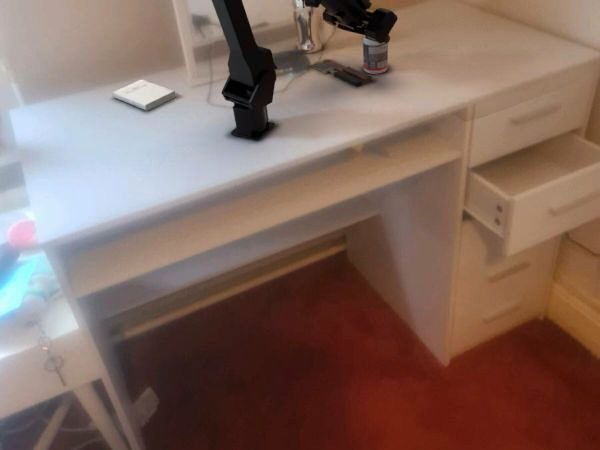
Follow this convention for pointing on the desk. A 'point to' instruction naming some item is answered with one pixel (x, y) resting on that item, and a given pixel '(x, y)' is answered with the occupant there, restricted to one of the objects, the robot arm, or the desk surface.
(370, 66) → the pill bottle
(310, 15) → the beer glass
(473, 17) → the desk surface
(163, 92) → the hard drive
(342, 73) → the black-handled fork
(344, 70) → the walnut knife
